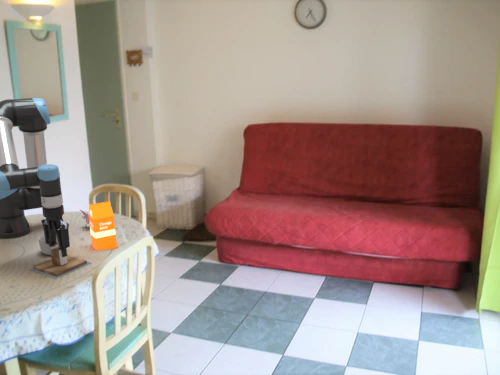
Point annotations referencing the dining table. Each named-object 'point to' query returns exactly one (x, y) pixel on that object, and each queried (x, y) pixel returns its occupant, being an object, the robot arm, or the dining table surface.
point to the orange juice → (102, 226)
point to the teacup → (45, 245)
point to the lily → (85, 217)
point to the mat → (60, 275)
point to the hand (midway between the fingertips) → (60, 262)
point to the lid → (54, 264)
